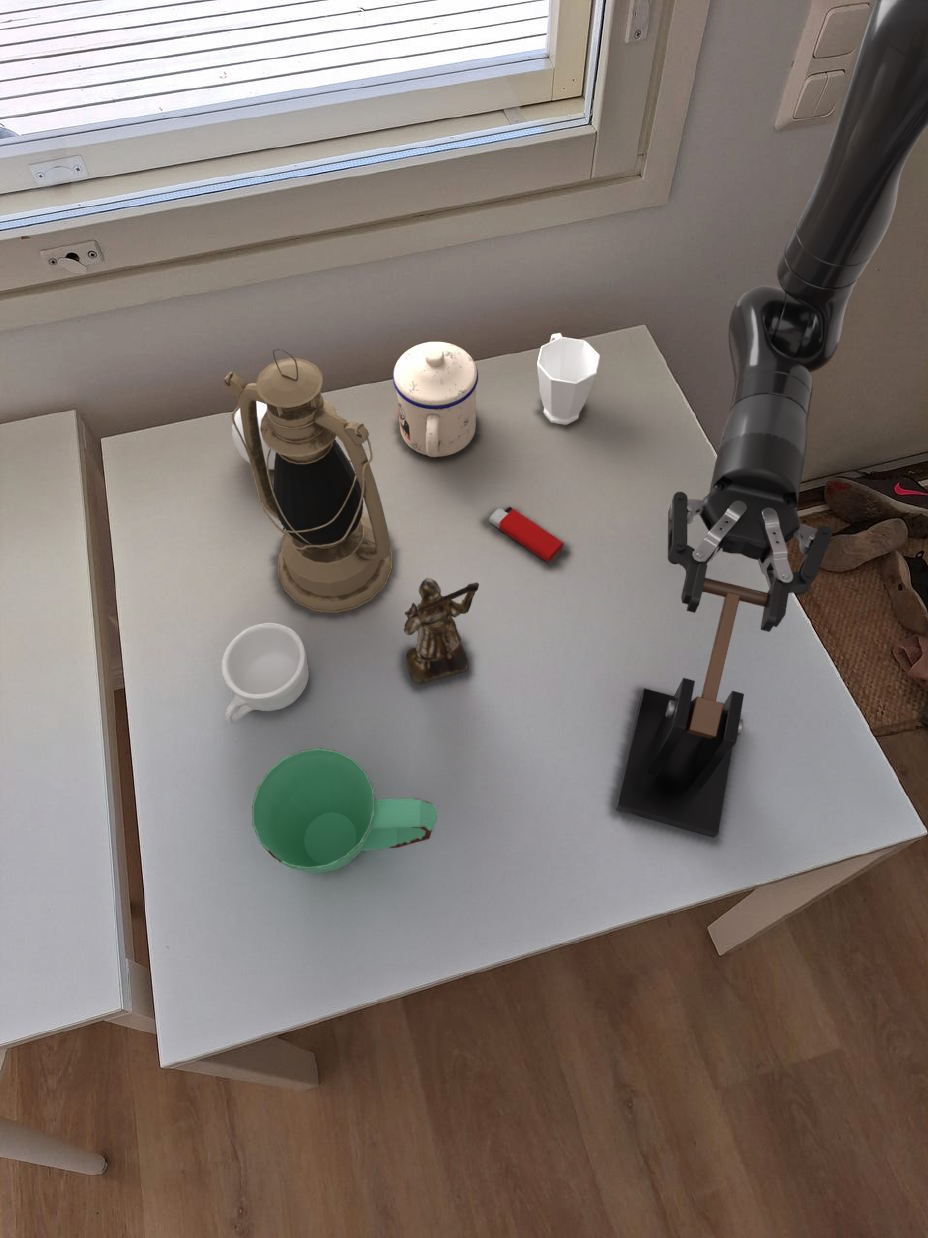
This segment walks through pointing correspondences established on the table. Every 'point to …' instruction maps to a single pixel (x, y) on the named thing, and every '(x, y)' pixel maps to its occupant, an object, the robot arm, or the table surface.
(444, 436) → the teacup with lid
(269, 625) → the teacup
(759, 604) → the lever
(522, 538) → the lighter
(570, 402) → the cup
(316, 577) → the lantern
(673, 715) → the bracket
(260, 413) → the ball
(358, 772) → the mug
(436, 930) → the table surface
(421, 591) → the figurine
